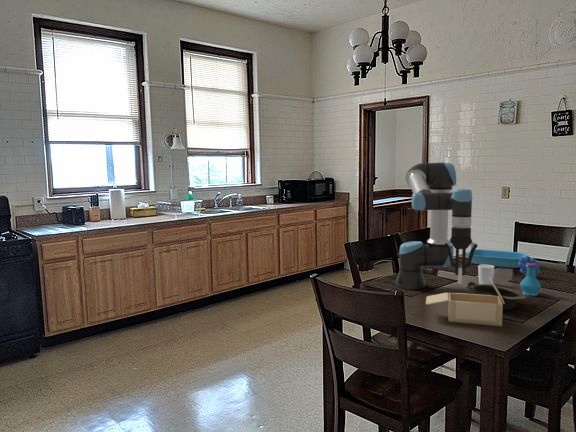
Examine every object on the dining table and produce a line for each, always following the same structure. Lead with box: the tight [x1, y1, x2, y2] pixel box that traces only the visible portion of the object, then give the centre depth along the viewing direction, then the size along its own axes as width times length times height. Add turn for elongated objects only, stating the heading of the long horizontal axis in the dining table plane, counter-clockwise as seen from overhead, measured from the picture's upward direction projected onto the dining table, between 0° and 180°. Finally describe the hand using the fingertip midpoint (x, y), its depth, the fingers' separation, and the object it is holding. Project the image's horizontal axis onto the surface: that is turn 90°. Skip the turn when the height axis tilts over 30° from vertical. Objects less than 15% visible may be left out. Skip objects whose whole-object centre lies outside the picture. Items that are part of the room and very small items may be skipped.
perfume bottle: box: [519, 263, 542, 297], centre depth 226 cm, size 9×9×15 cm
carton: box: [447, 292, 504, 327], centre depth 191 cm, size 20×13×9 cm, turn 72°
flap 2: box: [489, 277, 505, 304], centre depth 188 cm, size 9×11×1 cm
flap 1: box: [425, 292, 449, 306], centre depth 195 cm, size 9×11×1 cm
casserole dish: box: [466, 248, 530, 269], centre depth 292 cm, size 37×22×7 cm, turn 55°
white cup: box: [477, 264, 495, 285], centre depth 244 cm, size 8×8×10 cm
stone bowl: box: [465, 281, 527, 311], centre depth 210 cm, size 25×25×9 cm
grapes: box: [517, 255, 541, 278], centre depth 258 cm, size 12×7×12 cm, turn 57°
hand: (459, 282), depth 192 cm, fingers closed
